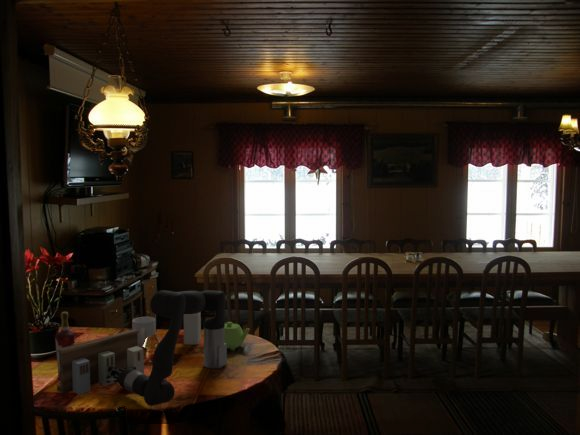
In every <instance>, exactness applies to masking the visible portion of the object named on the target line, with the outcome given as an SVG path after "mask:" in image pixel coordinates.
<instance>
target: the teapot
mask: <svg viewBox="0 0 580 435" xmlns="http://www.w3.org/2000/svg"><path fill="white" fill-rule="evenodd" d="M249 332H250V328H249V327H246V328H245V330H244V331H243V329H242V327H241V326H240V324H238V323H233V322H232V321H227V322H225V343H227V349H230V351H231V350H233V351H232V352H235V351H234V350H236V349H237V348H240V347H241V346H242V345H243V343H244V342H245V339H246V338H247V336H248V334H249ZM239 346H240V347H239ZM236 351H237V350H236Z"/></svg>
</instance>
